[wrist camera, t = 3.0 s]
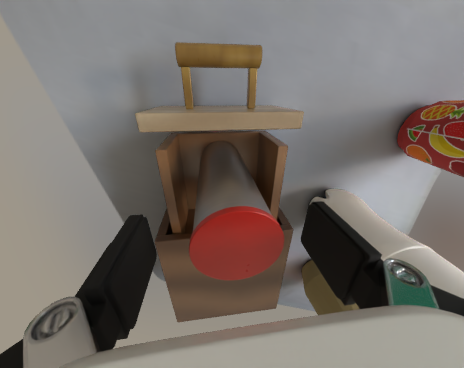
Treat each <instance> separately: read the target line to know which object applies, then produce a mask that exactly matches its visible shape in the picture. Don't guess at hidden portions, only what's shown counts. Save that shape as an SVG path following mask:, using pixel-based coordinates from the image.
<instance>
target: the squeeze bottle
mask: <svg viewBox="0 0 464 368" xmlns="http://www.w3.org/2000/svg"><path fill="white" fill-rule="evenodd" d="M301 272H302V278H303V283H304V289H305V293H306V296H307V297H308V299H309V301H310V302H311V304H312V306H313V307H314V309H315V311H316V312H317V314H318V315H324V314H330V313H337V312H344V311H351V310H358V309H359V307H358V306H357V304H356V303H355V304H353V305H346V306H344V304H343V303H342V301H341V300H340V299H338V298H337V297H336V296H335V294H334V293H333V291H332V290H331V288H330V286H329V285H328V283H327V282H326V280H325V279H324V277H323V276H322V274H321V272H320V271H319V269H318V268H317V266H316V265H315V263H314V262H313V260H311V261H309V262H308V263H306V264H305V265H304V266H303V268H302V271H301Z"/></svg>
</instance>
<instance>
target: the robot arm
mask: <svg viewBox="0 0 464 368" xmlns="http://www.w3.org/2000/svg"><path fill="white" fill-rule="evenodd" d="M301 242H302V244H303V246H304V248H305V249H306V251H307V252H308V254H309V255H310V257H311V258H312V260H313V262H314V263H315V265H316V266H317V268H318V269H319V271H320V272H321V274H322V276H323V277H324V279H325V280H326V282H327V283H328V285H329V286H330V288H331V290H332V291H333V293H334V294H335V296H336V297H337V298H338V299H340V300H341V301H342V303H343V304H344V306H346V305H353V304H355V303H356V304H357V306H358V307H359V309H358V310H351V311H344V312H337V313H330V314H324V315H317V316H310V317H303V318H297V319H290V320H285V321H277V322H271V323H264V324H258V325H252V326H245V327H238V328H232V329H225V330H220V331H213V332H206V333H200V334H194V335H188V336H181V337H175V338H169V339H163V340H158V341H152V342H146V343H141V344H135V345H130V346H124V347H119V348H115V349H113V347H114V346H115V343H116V341H117V340H120V339H126V338H127V337H128V334H129V331H130V329H133V328H134V326H135V324H136V321H137V318H138V315H139V311H140V308H141V305H142V302H143V299H144V295H145V292H146V289H147V286H148V283H149V280H150V276H151V273H152V270H153V267H154V264H155V261H156V255H157V254H156V249H155V246H154V242H153V238H152V235H151V231H150V228H149V224H148V221H147V218H146V217H143V215H130V216H129V217H128V219H127V220H126V222H125V223H124V225H123V226H122V228H121V229H120V231H119V232H118V234H117V235H116V237H115V239H114V240H113V242H112V243H110V244H109V246H108V247H107V248H106V250H105V251H104V253H103V255H102V256H101V258H100V259H99V261H98V262H97V264H96V265H95V267H94V268H93V270H92V271H91V273H90V274H89V276H88V277H87V279H86V280H85V282H84V283H83V285H82V286H81V288H80V289H79V291H78V292H77V294H76V295H75V297H66V298H63V299H60V300H58V301H56V302H54V303H52V304H51V305H50V306H48V307H46V308H45V309H43V310H42V311H41V312H40V313H39V314H38V315H37V316H36V317H35V318H34V319H33V320H32V321H31V322H30V324H29V325H28V327H27V329H26V330H25V333H24V337H23V339H22V340H21V341H19V342H18V343H16V344H15V345H13V346H12V347H10V348H9V349H7V350H6V351H4V352H3V353H1V354H0V368H464V299H463V298H461V297H458V296H456V295H454V294H451V293H449V292H446V291H444V290H442V289H439V288H437V287H435V286H432V285H430V283H429V281H428V279H427V278H426V276H425V275H424V274H423V273H422V272H421V271H420V270H418V269H417V268H416V267H414V266H412V265H411V264H409V263H407V262H404V261H402V260H398V259H393V258H389V259H386V260H385V261H383V260H382V259H381V256H382V254H381V253H380V252H379V251H378V250H376V249H375V248H374V247H373V246H372V245H371V244H370V243H369V242H368V241H366V240H365V239H364V238H363V237H362V236H361V235H360V234H359V233H358V232H357V231H355V230H354V229H353V228H352V227H351V226H350V225H349V224H348V223H347V222H346V221H344V220H343V219H342V218H341V217H340V216H339V215H338V214H337V213H336V212H334V211H333V210H332V209H331V208H330V207H329V206H328V205H327V204H326V203H325V202H323V201H318V202H312V203H311V204H310V205H309V207H308V211H307V215H306V219H305V223H304V227H303V231H302V235H301Z"/></svg>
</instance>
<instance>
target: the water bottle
mask: <svg viewBox="0 0 464 368" xmlns="http://www.w3.org/2000/svg"><path fill="white" fill-rule="evenodd" d="M325 195H326V198H327V199H324V198H321V197H315V198H313V199H312V200H311V202H310V204H311V203H312V202H318V201H323V202H325V203H326V204H327V205H328V206H329V207H330V208H331V209H332V210H333V211H334V212H336V213H337V214H338V215H339V216H340V217H341V218H342V219H343V220H344V221H346V222H347V223H348V224H349V225H350V226H351V227H352V228H353V229H354V230H355V231H357V232H358V233H359V234H360V235H361V236H362V237H363V238H364V239H365V240H366V241H368V242H369V243H370V244H371V245H372V246H373V247H374V248H375V249H376V250H378V251H379V252H380V253H381V254H382V256H381V259H382V260H383V261H385V260H386V259H389V258H393V259H398V260H402V261H404V262H407V263H409V264H411V265H412V266H414V267H416V268H417V269H418V270H420V271H421V272H422V273H423V274H424V275H425V276H426V278H427V279H428V281H429V283H430V285H432V286H435V287H437V288H439V289H442V290H444V291H446V292H449V293H451V294H454V295H456V296H458V297H461V298H463V299H464V272H462V271H461V270H460V269H458V268H457V267H455V266H454V265H453V264H451V263H450V262H448V261H447V260H445V259H444V258H442V257H441V256H440V255H438V254H437V253H435V252H434V251H433V250H432V249H431V248H429V247H427V246H425V245H423V244H421V243H419V242H417V241H415V240H414V239H412V238H410V237H408V236H407V235H405V234H404V233H402V232H400V231H399V230H397V229H396V228H394V227H393V226H391V225H390V224H388V223H387V222H386V221H384V220H383V219H382V218H381V217H379V216H378V215H377V214H376V213H375V212H374V211H372V210H371V209H370V208H369V207H368V206H367V205H366V203H365V202H364V201H363V200H362V199H360V198H359V197H357V196H356V195H354V194H352V193H350V192H348V191H345V190H340V189H328V190H326V191H325ZM310 204H309V205H310Z"/></svg>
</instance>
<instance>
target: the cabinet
mask: <svg viewBox="0 0 464 368" xmlns="http://www.w3.org/2000/svg"><path fill="white" fill-rule="evenodd" d="M277 222H278V223H279V225H280V227H281V229H282V231H283V234H284V247H283V250H282V252H281V254H280V256H279V257H278V259H277V260H276V261H275V262H274V263H273V264H272V265H271V266H270V267H269V268H267V269H266V270H264V271H263V272H261V273H259V274H257V275H254V276H252V277H249V278H245V279H240V280H220V279H215V278H211V277H209V276H206V275H205V274H203V273H201V272H200V271H199V270H198V269H197V268H196V267H195V266H194V265H193V263H192V261H191V259H190V256H189V243H190V238H191V235H192V233H183V234H173V233H172V228H171V223H170V219H169V214H168V209H167V208H166V211H165V214H164V217H163V219H162V222H161V225H160V228H159V231H158V234H157V237H156V239H155V245H156V249H157V252H158V256H159V259H160V263H161V266H162V270H163V273H164V277H165V280H166V283H167V287H168V291H169V294H170V298H171V301H172V305H173V308H174V311H175V315H176V319H177V322H184V321H190V320H198V319H205V318H212V317H219V316H226V315H233V314H240V313H247V312H254V311H261V310H268V309H275V308H276V306H277V302H278V297H279V293H280V288H281V284H282V279H283V275H284V270H285V266H286V261H287V257H288V252H289V247H290V243H291V238H292V234H293V228H292V226H291V225H290V223H289V222H288V220H287V218H286V217H285V215H284V214H283V212H282V210H281V209H280V207H279V208H278V215H277Z"/></svg>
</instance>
